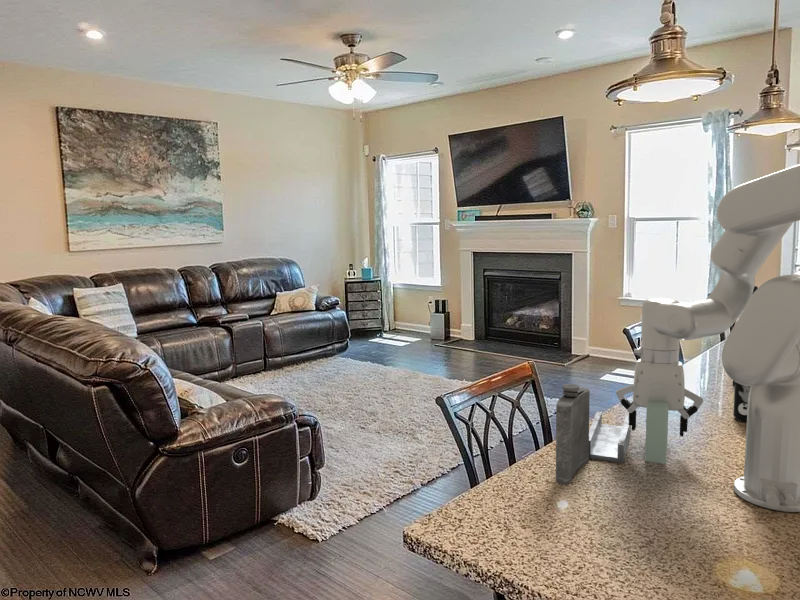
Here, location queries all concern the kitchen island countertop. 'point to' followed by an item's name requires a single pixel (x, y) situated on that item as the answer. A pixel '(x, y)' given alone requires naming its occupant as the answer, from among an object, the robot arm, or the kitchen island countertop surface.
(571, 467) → the flask
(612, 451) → the strip
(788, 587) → the kitchen island countertop surface
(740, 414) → the beverage can
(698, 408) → the robot arm
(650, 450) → the door panel
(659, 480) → the kitchen island countertop surface
